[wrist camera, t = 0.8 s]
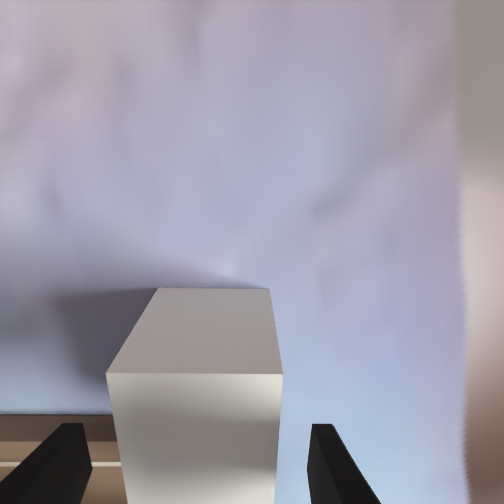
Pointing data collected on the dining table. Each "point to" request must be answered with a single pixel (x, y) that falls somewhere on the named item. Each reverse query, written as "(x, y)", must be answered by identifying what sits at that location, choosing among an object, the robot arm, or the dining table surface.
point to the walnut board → (98, 440)
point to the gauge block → (199, 398)
